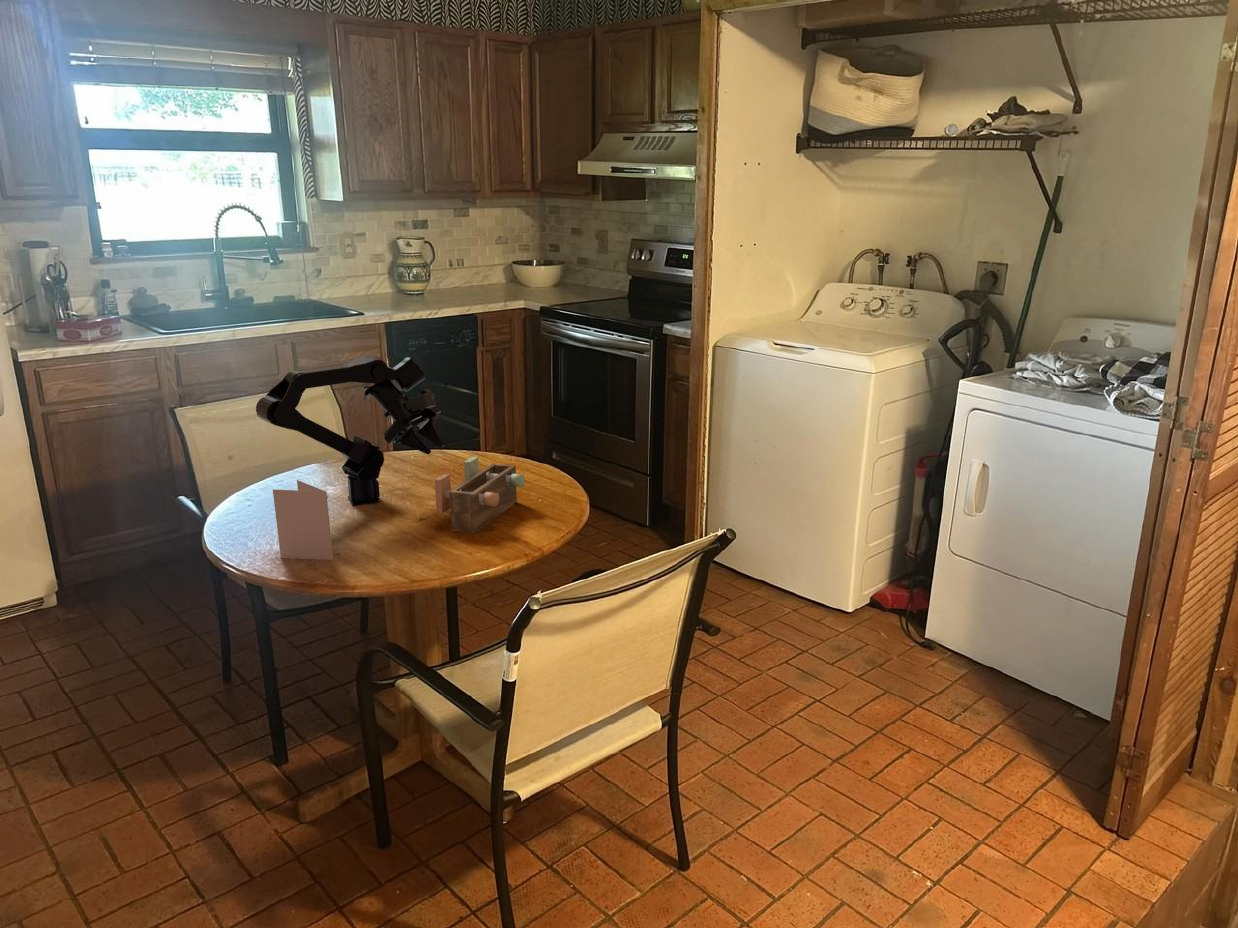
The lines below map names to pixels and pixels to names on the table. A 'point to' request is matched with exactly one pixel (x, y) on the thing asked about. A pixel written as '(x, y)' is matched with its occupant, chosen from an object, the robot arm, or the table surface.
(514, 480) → the sage button
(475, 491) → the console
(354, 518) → the table surface
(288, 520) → the greeting card
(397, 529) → the table surface
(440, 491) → the pink block with rod
